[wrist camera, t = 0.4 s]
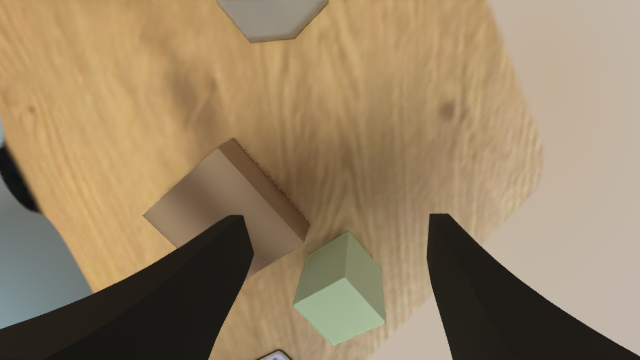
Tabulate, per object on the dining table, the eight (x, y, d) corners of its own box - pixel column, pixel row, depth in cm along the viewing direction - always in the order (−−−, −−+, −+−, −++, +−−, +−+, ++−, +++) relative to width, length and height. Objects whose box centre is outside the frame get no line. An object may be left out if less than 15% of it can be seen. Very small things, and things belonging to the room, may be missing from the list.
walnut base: (238, 269, 27) (223, 292, 24) (166, 198, 25) (142, 215, 22) (310, 221, 23) (303, 242, 21) (235, 136, 22) (217, 147, 19)
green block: (338, 290, 25) (333, 346, 20) (306, 255, 24) (292, 305, 19) (381, 268, 24) (385, 322, 19) (348, 230, 23) (344, 277, 18)
